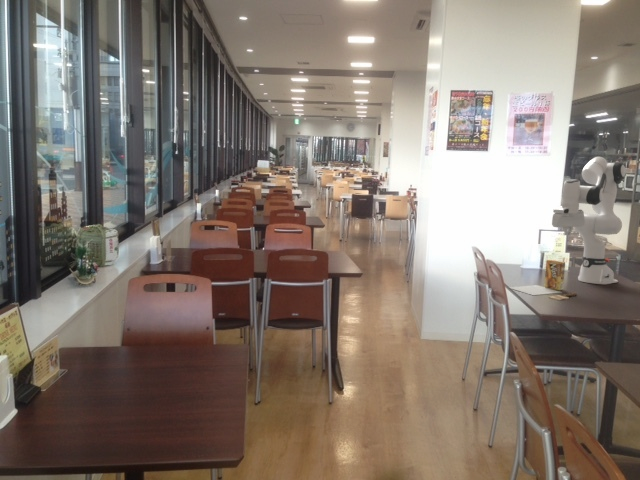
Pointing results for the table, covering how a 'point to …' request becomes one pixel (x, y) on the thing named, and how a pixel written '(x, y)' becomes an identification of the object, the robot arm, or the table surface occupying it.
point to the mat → (535, 290)
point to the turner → (563, 296)
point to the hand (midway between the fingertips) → (567, 235)
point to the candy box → (554, 274)
